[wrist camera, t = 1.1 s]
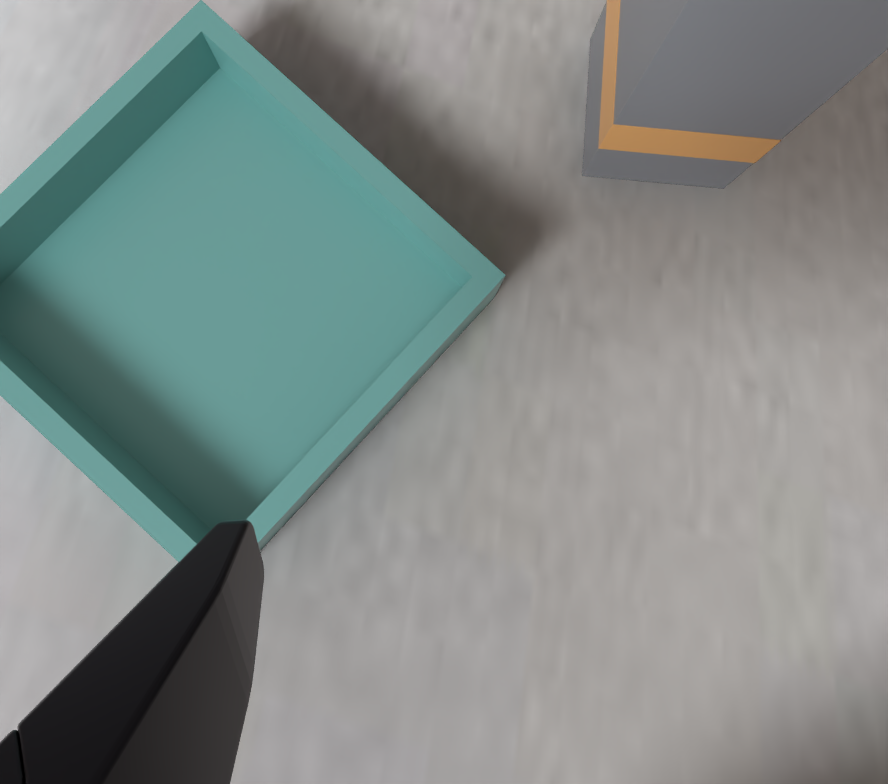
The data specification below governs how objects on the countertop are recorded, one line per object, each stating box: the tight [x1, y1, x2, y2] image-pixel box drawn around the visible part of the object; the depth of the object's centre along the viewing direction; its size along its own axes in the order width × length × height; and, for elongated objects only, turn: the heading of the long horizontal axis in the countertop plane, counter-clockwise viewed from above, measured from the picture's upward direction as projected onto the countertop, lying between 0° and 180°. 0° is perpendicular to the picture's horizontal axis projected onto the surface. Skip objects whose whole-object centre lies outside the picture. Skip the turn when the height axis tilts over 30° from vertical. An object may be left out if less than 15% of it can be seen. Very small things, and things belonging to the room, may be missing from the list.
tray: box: [0, 0, 506, 562], centre depth 22 cm, size 12×12×3 cm
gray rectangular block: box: [582, 0, 888, 189], centre depth 19 cm, size 5×5×11 cm
